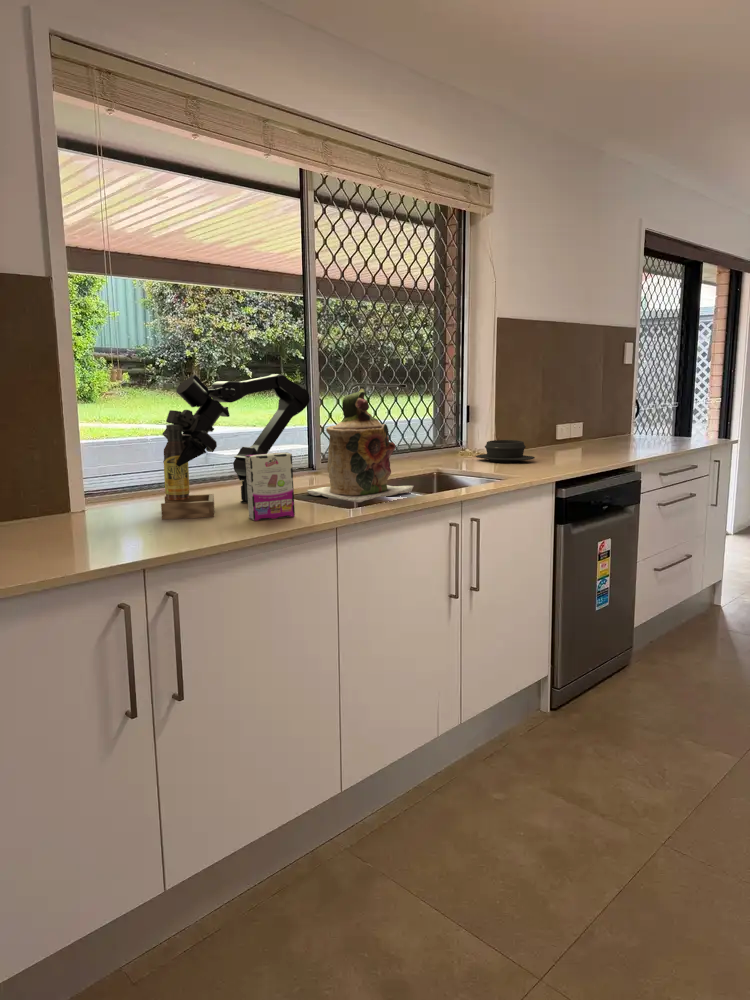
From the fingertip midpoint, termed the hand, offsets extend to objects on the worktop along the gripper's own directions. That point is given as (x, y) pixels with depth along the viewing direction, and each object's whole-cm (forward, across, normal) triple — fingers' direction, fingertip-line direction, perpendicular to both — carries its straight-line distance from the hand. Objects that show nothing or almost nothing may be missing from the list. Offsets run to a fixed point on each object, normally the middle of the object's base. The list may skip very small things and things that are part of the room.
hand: (170, 464), depth 184 cm
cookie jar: (-29, +13, +50) cm, 59 cm away
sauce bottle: (+6, 0, +8) cm, 10 cm away
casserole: (-96, -1, +121) cm, 154 cm away
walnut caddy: (+7, +1, +12) cm, 14 cm away
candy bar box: (0, +22, +20) cm, 30 cm away
